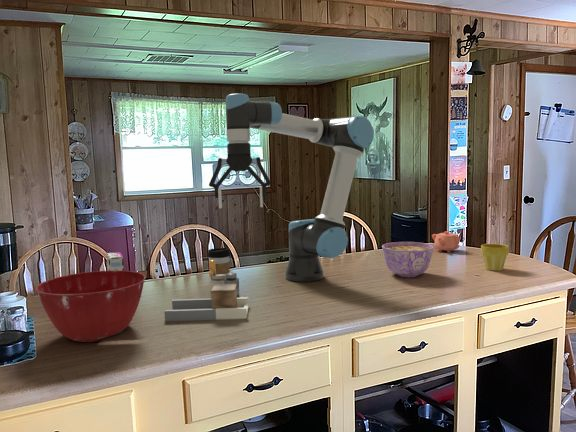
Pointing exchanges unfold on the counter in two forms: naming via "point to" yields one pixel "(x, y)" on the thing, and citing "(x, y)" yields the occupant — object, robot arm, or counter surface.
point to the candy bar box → (115, 261)
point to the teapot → (446, 241)
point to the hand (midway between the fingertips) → (241, 207)
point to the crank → (213, 273)
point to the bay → (205, 310)
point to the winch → (235, 281)
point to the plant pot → (494, 256)
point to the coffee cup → (220, 262)
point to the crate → (224, 296)
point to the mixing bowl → (92, 303)
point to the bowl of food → (407, 257)
